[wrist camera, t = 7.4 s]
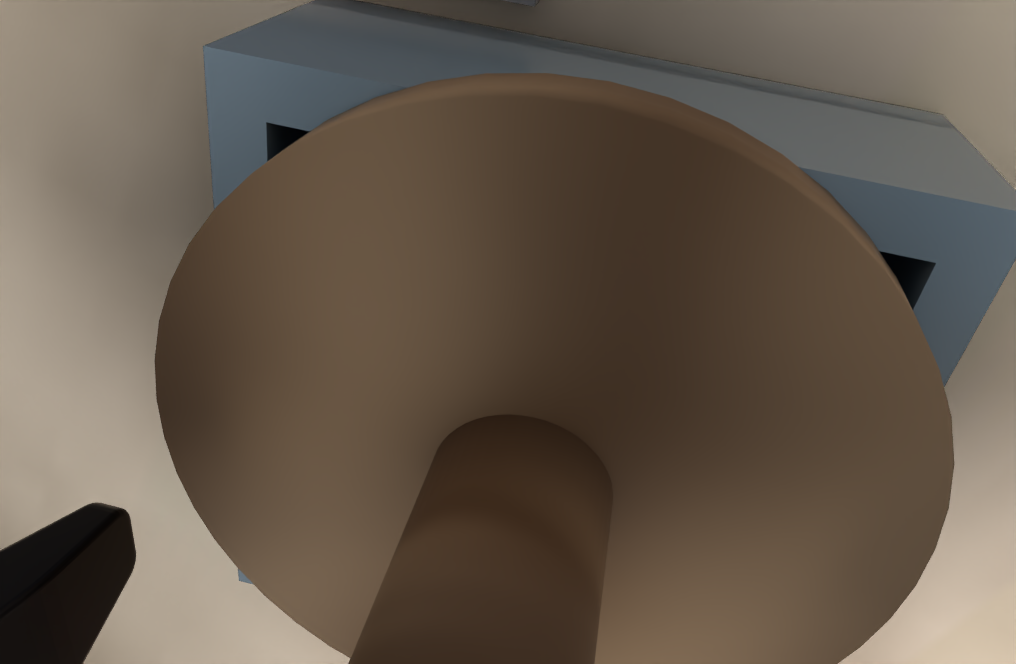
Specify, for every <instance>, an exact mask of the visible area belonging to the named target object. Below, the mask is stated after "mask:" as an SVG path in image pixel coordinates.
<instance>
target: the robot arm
mask: <svg viewBox="0 0 1016 664" xmlns="http://www.w3.org/2000/svg"><path fill="white" fill-rule="evenodd" d="M135 561H136V550H135V544H134V538H133V532H132V526H131V520H130V516H129V514H128V512H127V511H126V510H125V509H122V508H119V507H115V506H111V505H107V504H103V503H92V504H88V505H86V506H84V507H82V508H80V509H78V510H76V511H74V512H72V513H71V514H69V515H67V516H65V517H63V518H61V519H59V520H57V521H55V522H53V523H52V524H50V525H48V526H46V527H44V528H42V529H40V530H38V531H36V532H35V533H33V534H31V535H29V536H27V537H25V538H23V539H21V540H19V541H18V542H16V543H14V544H12V545H10V546H8V547H6V548H4V549H2V550H0V664H83V662H84V661H85V659H86V657H87V655H88V653H89V651H90V650H91V648H92V646H93V644H94V642H95V640H96V638H97V637H98V635H99V633H100V631H101V629H102V627H103V625H104V624H105V622H106V620H107V618H108V616H109V614H110V612H111V611H112V609H113V607H114V605H115V603H116V601H117V600H118V598H119V596H120V594H121V592H122V590H123V588H124V587H125V585H126V583H127V581H128V579H129V577H130V575H131V573H132V571H133V568H134V565H135Z"/></svg>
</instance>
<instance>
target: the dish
mask: <svg viewBox="0 0 1016 664" xmlns="http://www.w3.org/2000/svg"><path fill="white" fill-rule="evenodd" d="M203 52H204V67H205V82H206V97H207V112H208V127H209V142H210V157H211V172H212V187H213V202H214V209H215V208H216V207H217V206H218V205H219V204H220V203H221V202H222V201H223V200H224V199H225V198H226V197H227V196H228V195H229V194H231V193H232V192H233V191H234V190H235V189H236V188H237V187H238V186H239V185H240V184H241V183H242V182H243V181H244V180H245V179H246V178H247V177H248V176H249V175H250V174H252V173H253V172H254V171H256V170H257V169H258V168H260V167H261V166H262V165H264V164H265V163H266V162H268V161H269V160H270V159H272V158H273V157H274V156H276V155H277V154H278V153H280V152H281V151H282V150H284V149H285V148H286V147H288V146H289V145H291V144H292V143H294V142H295V141H297V140H298V139H299V138H301V137H302V136H304V135H305V134H307V133H308V132H310V131H311V130H313V129H314V128H316V127H317V126H319V125H320V124H322V123H323V122H325V121H326V120H328V119H330V118H332V117H334V116H336V115H338V114H341V113H343V112H345V111H347V110H349V109H351V108H353V107H356V106H358V105H360V104H362V103H364V102H366V101H368V100H371V99H373V98H375V97H378V96H381V95H385V94H388V93H392V92H395V91H398V90H402V89H405V88H409V87H412V86H415V85H419V84H422V83H426V82H430V81H437V80H444V79H451V78H457V77H464V76H471V75H478V74H485V73H550V74H558V75H566V76H573V77H581V78H589V79H596V80H604V81H610V82H614V83H618V84H621V85H625V86H629V87H633V88H636V89H640V90H644V91H647V92H651V93H655V94H658V95H662V96H666V97H669V98H672V99H675V100H677V101H679V102H682V103H684V104H687V105H689V106H691V107H694V108H696V109H698V110H701V111H703V112H706V113H708V114H710V115H713V116H715V117H717V118H720V119H722V120H725V121H727V122H729V123H731V124H732V125H734V126H736V127H738V128H739V129H741V130H743V131H744V132H746V133H748V134H749V135H751V136H753V137H754V138H756V139H758V140H759V141H761V142H763V143H765V144H766V145H768V146H770V147H771V148H773V149H775V150H776V151H778V152H780V153H781V154H783V155H784V156H785V157H786V158H788V159H789V160H790V161H791V162H793V163H794V164H795V165H796V166H798V167H799V168H800V169H801V170H803V171H804V172H805V173H806V174H808V175H809V176H810V177H811V178H813V179H814V180H815V181H816V182H818V183H819V184H820V185H821V186H823V187H824V188H825V189H826V190H828V191H829V192H830V193H831V195H832V196H833V197H834V198H835V199H836V200H837V201H838V202H839V203H840V204H841V205H842V206H843V208H844V209H845V210H846V211H847V212H848V213H849V214H850V215H851V216H852V217H853V218H854V219H855V221H856V222H857V223H858V224H859V225H860V226H861V227H862V228H863V229H864V230H865V231H866V232H867V234H868V235H869V237H870V238H871V240H872V241H873V243H874V244H875V246H876V247H877V249H878V250H879V252H880V253H881V255H882V256H883V258H884V259H885V261H886V262H887V264H888V265H889V267H890V268H891V270H892V271H893V273H894V274H895V276H896V277H897V279H898V281H899V283H900V285H901V287H902V289H903V291H904V293H905V295H906V298H907V300H908V302H909V304H910V306H911V308H912V310H913V312H914V314H915V316H916V318H917V320H918V322H919V325H920V327H921V329H922V331H923V333H924V336H925V338H926V340H927V342H928V345H929V347H930V349H931V351H932V353H933V356H934V358H935V360H936V362H937V365H938V367H939V370H940V374H941V378H942V382H943V386H944V387H945V385H946V383H947V381H948V379H949V378H950V376H951V374H952V372H953V370H954V369H955V367H956V365H957V363H958V361H959V360H960V358H961V356H962V354H963V353H964V351H965V349H966V347H967V345H968V344H969V342H970V340H971V338H972V336H973V335H974V333H975V331H976V329H977V327H978V326H979V324H980V322H981V320H982V319H983V317H984V315H985V313H986V311H987V310H988V308H989V306H990V304H991V302H992V301H993V299H994V297H995V295H996V293H997V292H998V290H999V288H1000V286H1001V285H1002V283H1003V281H1004V279H1005V277H1006V276H1007V274H1008V272H1009V270H1010V268H1011V267H1012V265H1013V263H1014V261H1015V259H1016V190H1015V189H1014V188H1013V187H1012V186H1011V185H1010V184H1009V183H1008V182H1007V181H1006V180H1005V179H1004V178H1003V177H1002V176H1001V175H1000V174H999V173H998V171H997V170H996V169H995V168H994V167H993V166H992V165H991V164H990V163H989V162H988V161H987V160H986V159H985V158H984V157H983V156H982V155H981V154H980V153H979V152H978V151H977V150H976V148H975V147H974V146H973V145H972V144H971V143H970V142H969V141H968V140H967V139H966V138H965V137H964V136H963V135H962V134H961V133H960V132H959V131H958V130H957V129H956V128H955V127H954V125H953V124H952V123H951V122H950V121H949V120H948V119H947V118H946V117H945V116H944V115H943V114H938V113H933V112H928V111H922V110H917V109H912V108H907V107H902V106H897V105H892V104H886V103H881V102H876V101H871V100H866V99H861V98H855V97H850V96H845V95H840V94H835V93H830V92H825V91H819V90H814V89H809V88H804V87H799V86H794V85H789V84H783V83H778V82H773V81H768V80H763V79H758V78H753V77H747V76H742V75H737V74H732V73H727V72H722V71H716V70H711V69H706V68H701V67H696V66H691V65H686V64H680V63H675V62H670V61H665V60H660V59H655V58H650V57H644V56H639V55H634V54H629V53H624V52H619V51H613V50H608V49H603V48H598V47H593V46H588V45H583V44H577V43H572V42H567V41H562V40H557V39H552V38H547V37H541V36H536V35H531V34H526V33H521V32H516V31H511V30H505V29H500V28H495V27H490V26H485V25H480V24H474V23H469V22H464V21H459V20H454V19H449V18H444V17H438V16H433V15H428V14H423V13H418V12H413V11H408V10H402V9H397V8H392V7H387V6H382V5H377V4H371V3H366V2H361V1H356V0H314V1H311V2H309V3H306V4H304V5H302V6H299V7H297V8H294V9H292V10H289V11H287V12H285V13H282V14H280V15H277V16H275V17H272V18H270V19H268V20H265V21H263V22H260V23H258V24H255V25H253V26H251V27H248V28H246V29H243V30H241V31H239V32H236V33H234V34H231V35H229V36H226V37H224V38H222V39H219V40H217V41H214V42H212V43H209V44H207V45H205V46H203ZM238 574H239V581H242V582H246V583H250V584H253V583H252V582H251V581H250V580H249V579H248V578H247V577H246V576H245V575H244V574H243V573H242V572H241V571H240V570H239V569H238Z"/></svg>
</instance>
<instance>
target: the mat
mask: <svg viewBox="0 0 1016 664" xmlns="http://www.w3.org/2000/svg"><path fill="white" fill-rule="evenodd" d="M502 1H508V2H513V3H518V4H523V5H529V6H534V7H535V5H536V4H537V3H538V2H539V0H502Z"/></svg>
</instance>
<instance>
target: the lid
mask: <svg viewBox="0 0 1016 664" xmlns="http://www.w3.org/2000/svg"><path fill="white" fill-rule="evenodd" d="M155 375H156V396H157V403H158V408H159V413H160V418H161V423H162V428H163V433H164V437H165V440H166V443H167V446H168V449H169V452H170V455H171V458H172V460H173V463H174V466H175V469H176V472H177V474H178V476H179V478H180V480H181V482H182V484H183V486H184V488H185V490H186V492H187V494H188V496H189V498H190V500H191V502H192V504H193V506H194V508H195V510H196V511H197V513H198V514H199V516H200V517H201V519H202V520H203V522H204V524H205V525H206V527H207V528H208V530H209V531H210V533H211V534H212V536H213V537H214V539H215V540H216V542H217V543H218V544H219V545H220V546H221V548H222V549H223V550H224V551H225V553H226V554H227V555H228V556H229V558H230V559H231V560H232V561H233V563H234V564H235V565H236V566H237V567H238V569H239V570H240V571H241V572H242V573H243V574H244V575H245V576H246V577H247V578H248V579H249V580H250V581H251V582H252V583H253V584H254V585H255V586H256V587H257V588H258V589H259V590H260V591H261V592H262V593H263V594H264V595H265V596H266V597H267V598H268V599H269V600H270V601H272V602H273V603H274V604H275V605H276V606H278V607H279V608H280V609H281V610H282V611H283V612H285V613H286V614H287V615H288V616H289V617H291V618H292V619H293V620H294V621H295V622H296V623H298V624H299V625H301V626H302V627H304V628H305V629H306V630H308V631H309V632H311V633H312V634H313V635H315V636H316V637H318V638H319V639H320V640H322V641H323V642H325V643H326V644H328V645H329V646H331V647H332V648H334V649H336V650H338V651H339V652H341V653H343V654H344V655H346V656H348V657H349V658H351V659H350V661H349V664H837V663H839V662H840V661H842V660H843V659H844V658H846V657H847V656H848V655H850V654H851V653H853V652H854V651H855V650H857V649H858V648H860V647H861V646H862V645H863V644H864V643H865V642H866V641H867V640H868V639H869V638H870V637H871V636H873V635H874V634H875V633H876V632H877V631H878V630H879V629H880V628H881V627H882V626H883V625H884V624H885V623H886V622H887V621H888V620H889V619H890V618H891V617H892V616H893V614H894V613H895V612H896V611H897V609H898V608H899V607H900V605H901V604H902V603H903V601H904V600H905V599H906V598H907V596H908V595H909V594H910V592H911V591H912V590H913V589H914V587H915V586H916V584H917V582H918V580H919V579H920V577H921V575H922V573H923V571H924V569H925V567H926V565H927V564H928V562H929V560H930V558H931V556H932V554H933V552H934V550H935V548H936V545H937V542H938V539H939V536H940V533H941V530H942V527H943V524H944V521H945V517H946V514H947V511H948V508H949V500H950V493H951V485H952V477H953V469H954V452H953V436H952V419H951V414H950V410H949V406H948V402H947V398H946V394H945V390H944V386H943V382H942V378H941V374H940V370H939V367H938V365H937V362H936V360H935V358H934V356H933V353H932V351H931V349H930V347H929V345H928V342H927V340H926V338H925V336H924V333H923V331H922V329H921V327H920V325H919V322H918V320H917V318H916V316H915V314H914V312H913V310H912V308H911V306H910V304H909V302H908V300H907V298H906V295H905V293H904V291H903V289H902V287H901V285H900V283H899V281H898V279H897V277H896V276H895V274H894V273H893V271H892V270H891V268H890V267H889V265H888V264H887V262H886V261H885V259H884V258H883V256H882V255H881V253H880V252H879V250H878V249H877V247H876V246H875V244H874V243H873V241H872V240H871V238H870V237H869V235H868V234H867V232H866V231H865V230H864V229H863V228H862V227H861V226H860V225H859V224H858V223H857V222H856V221H855V219H854V218H853V217H852V216H851V215H850V214H849V213H848V212H847V211H846V210H845V209H844V208H843V206H842V205H841V204H840V203H839V202H838V201H837V200H836V199H835V198H834V197H833V196H832V195H831V193H830V192H829V191H828V190H826V189H825V188H824V187H823V186H821V185H820V184H819V183H818V182H816V181H815V180H814V179H813V178H811V177H810V176H809V175H808V174H806V173H805V172H804V171H803V170H801V169H800V168H799V167H798V166H796V165H795V164H794V163H793V162H791V161H790V160H789V159H788V158H786V157H785V156H784V155H783V154H781V153H780V152H778V151H776V150H775V149H773V148H771V147H770V146H768V145H766V144H765V143H763V142H761V141H759V140H758V139H756V138H754V137H753V136H751V135H749V134H748V133H746V132H744V131H743V130H741V129H739V128H738V127H736V126H734V125H732V124H731V123H729V122H727V121H725V120H722V119H720V118H717V117H715V116H713V115H710V114H708V113H706V112H703V111H701V110H698V109H696V108H694V107H691V106H689V105H687V104H684V103H682V102H679V101H677V100H675V99H672V98H669V97H666V96H662V95H658V94H655V93H651V92H647V91H644V90H640V89H636V88H633V87H629V86H625V85H621V84H618V83H614V82H610V81H604V80H596V79H589V78H581V77H573V76H566V75H558V74H550V73H485V74H478V75H471V76H464V77H457V78H451V79H444V80H437V81H430V82H426V83H422V84H419V85H415V86H412V87H409V88H405V89H402V90H398V91H395V92H392V93H388V94H385V95H381V96H378V97H375V98H373V99H371V100H368V101H366V102H364V103H362V104H360V105H358V106H356V107H353V108H351V109H349V110H347V111H345V112H343V113H341V114H338V115H336V116H334V117H332V118H330V119H328V120H326V121H325V122H323V123H322V124H320V125H319V126H317V127H316V128H314V129H313V130H311V131H310V132H308V133H307V134H305V135H304V136H302V137H301V138H299V139H298V140H297V141H295V142H294V143H292V144H291V145H289V146H288V147H286V148H285V149H284V150H282V151H281V152H280V153H278V154H277V155H276V156H274V157H273V158H272V159H270V160H269V161H268V162H266V163H265V164H264V165H262V166H261V167H260V168H258V169H257V170H256V171H254V172H253V173H252V174H250V175H249V176H248V177H247V178H246V179H245V180H244V181H243V182H242V183H241V184H240V185H239V186H238V187H237V188H236V189H235V190H234V191H233V192H232V193H231V194H229V195H228V196H227V197H226V198H225V199H224V200H223V201H222V202H221V203H220V204H219V205H218V206H217V207H216V208H215V209H214V211H213V212H212V214H211V215H210V216H209V218H208V219H207V220H206V222H205V223H204V224H203V226H202V227H201V228H200V230H199V231H198V232H197V234H196V235H195V237H194V238H193V239H192V241H191V242H190V243H189V245H188V247H187V249H186V251H185V253H184V255H183V257H182V259H181V262H180V264H179V266H178V268H177V270H176V272H175V274H174V276H173V278H172V280H171V282H170V285H169V289H168V292H167V296H166V299H165V303H164V306H163V309H162V313H161V316H160V320H159V327H158V336H157V345H156V354H155Z"/></svg>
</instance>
